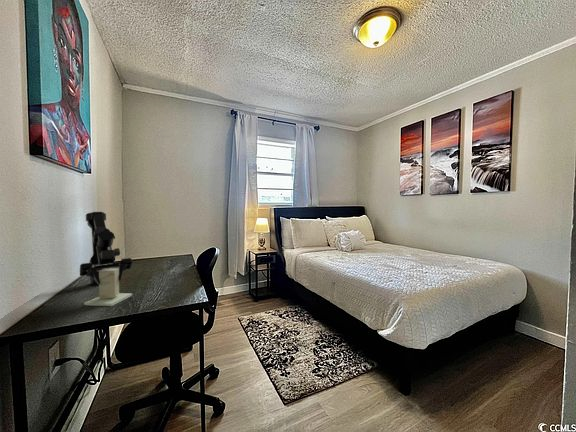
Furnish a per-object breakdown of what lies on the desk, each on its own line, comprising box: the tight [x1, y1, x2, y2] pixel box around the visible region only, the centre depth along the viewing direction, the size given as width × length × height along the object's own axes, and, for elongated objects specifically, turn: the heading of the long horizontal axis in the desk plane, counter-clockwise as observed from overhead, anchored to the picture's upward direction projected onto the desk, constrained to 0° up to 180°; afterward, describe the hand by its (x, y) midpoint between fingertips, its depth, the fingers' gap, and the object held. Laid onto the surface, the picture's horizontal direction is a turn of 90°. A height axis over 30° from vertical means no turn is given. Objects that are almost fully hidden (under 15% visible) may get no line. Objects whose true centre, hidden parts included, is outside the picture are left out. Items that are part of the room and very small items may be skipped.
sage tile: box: [83, 292, 133, 307], centre depth 105 cm, size 12×12×1 cm
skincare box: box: [98, 267, 120, 298], centre depth 105 cm, size 6×4×12 cm
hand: (109, 282), depth 104 cm, fingers closed on skincare box, 7 cm apart
